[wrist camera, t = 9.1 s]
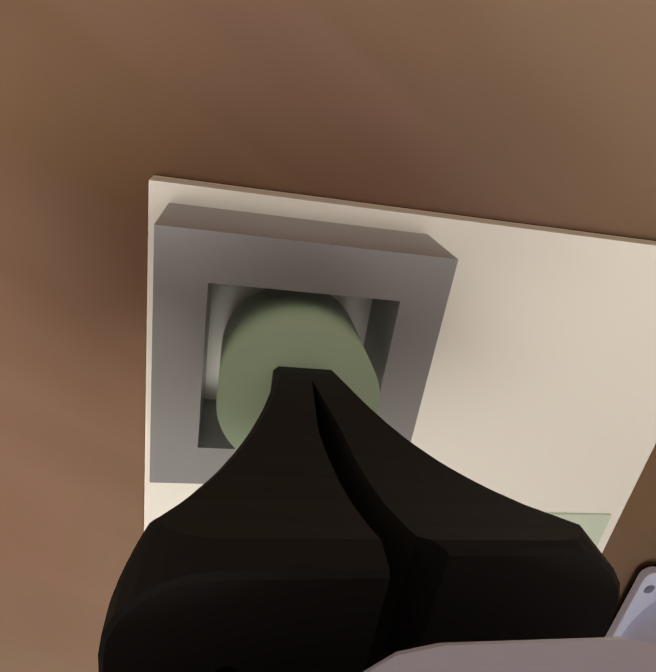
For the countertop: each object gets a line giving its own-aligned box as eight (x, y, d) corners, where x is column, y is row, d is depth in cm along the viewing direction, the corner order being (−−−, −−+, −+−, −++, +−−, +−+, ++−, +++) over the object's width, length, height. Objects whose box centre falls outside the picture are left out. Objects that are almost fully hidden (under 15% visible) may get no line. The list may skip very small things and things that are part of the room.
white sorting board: (536, 653, 25) (573, 725, 22) (145, 667, 22) (130, 755, 19) (726, 250, 17) (821, 282, 14) (153, 175, 14) (129, 198, 11)
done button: (344, 408, 16) (364, 472, 13) (217, 401, 15) (211, 467, 13) (367, 290, 14) (395, 337, 12) (227, 277, 14) (221, 323, 11)
